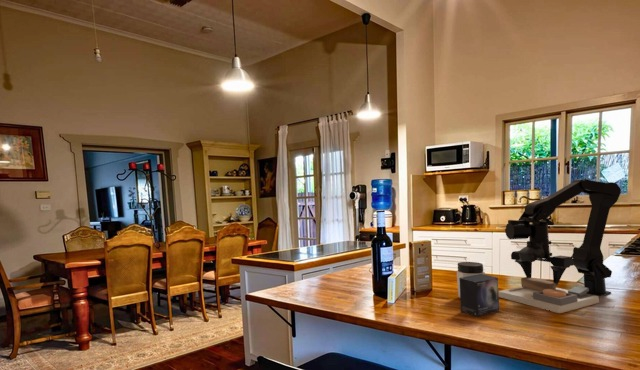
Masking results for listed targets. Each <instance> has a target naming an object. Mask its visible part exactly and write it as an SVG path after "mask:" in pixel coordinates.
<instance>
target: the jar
mask: <svg viewBox="0 0 640 370" xmlns="http://www.w3.org/2000/svg"><path fill="white" fill-rule="evenodd" d="M477 274H485V275H486V273H485V271H484V265H483V263H480V262H478V261H476V262H475V261H461V262H457V270H456V281H457V282H456V283H457V295H458V296H457V297H458V298H459V299H460V280H459V278H461V277H466V276H472V275H477Z"/></svg>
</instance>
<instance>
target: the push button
mask: <svg viewBox="0 0 640 370" xmlns="http://www.w3.org/2000/svg"><path fill="white" fill-rule="evenodd" d="M543 294H544V295H548V296H553V297H557V298H561V297H565V296H566V292H565V291H562V290H557V289H544V290H543Z"/></svg>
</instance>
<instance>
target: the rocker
mask: <svg viewBox="0 0 640 370" xmlns="http://www.w3.org/2000/svg"><path fill="white" fill-rule="evenodd" d="M567 290H568V293H570V294H575V295H577V296H582V295H583V294H588V293H587V292H588V291H589V288H586V287H584V286H580V285H575V286H574V287H572V288H571V289H567Z"/></svg>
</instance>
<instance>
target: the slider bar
mask: <svg viewBox="0 0 640 370" xmlns="http://www.w3.org/2000/svg"><path fill="white" fill-rule="evenodd" d="M520 282H521V284H520V285H521V287H525V288H529V289H534V290H538V291H543V290H544V289H556V288H557V286H556V285H555V283H554V282H553V281H548V280H542V279H537V278H533V277H531V278H528V277H526V276H525V277H521V278H520Z"/></svg>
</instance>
